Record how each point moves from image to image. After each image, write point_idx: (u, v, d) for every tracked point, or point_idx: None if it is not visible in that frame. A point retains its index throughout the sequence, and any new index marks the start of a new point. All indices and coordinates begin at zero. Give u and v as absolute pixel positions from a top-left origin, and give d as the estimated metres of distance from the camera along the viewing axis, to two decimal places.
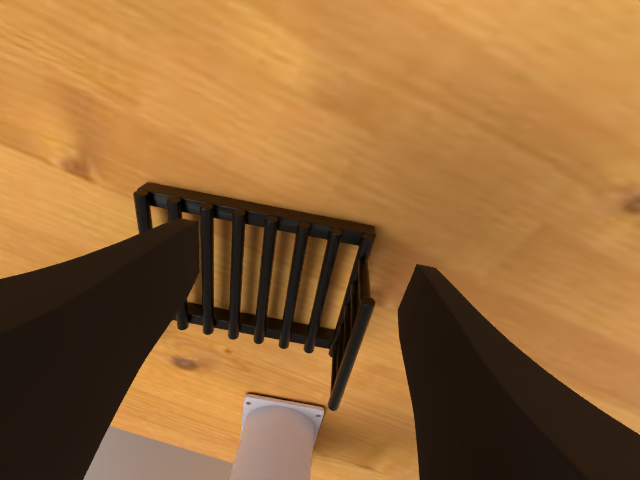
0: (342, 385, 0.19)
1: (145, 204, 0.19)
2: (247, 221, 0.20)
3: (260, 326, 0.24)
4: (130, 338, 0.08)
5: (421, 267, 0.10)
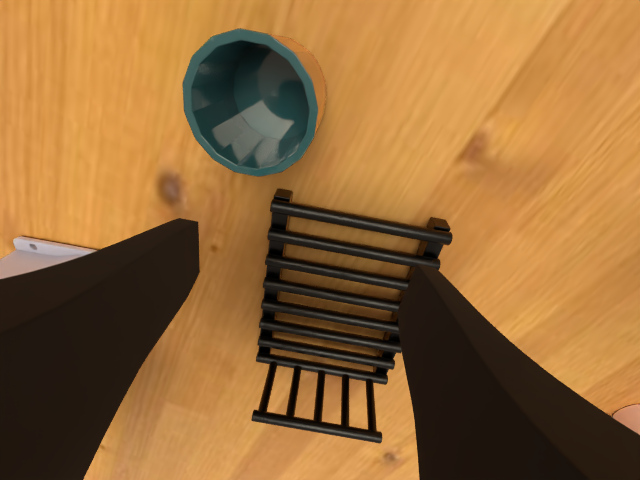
0: (290, 427, 0.22)
1: (438, 242, 0.19)
2: None
3: (288, 312, 0.23)
4: (130, 338, 0.08)
5: (421, 267, 0.10)
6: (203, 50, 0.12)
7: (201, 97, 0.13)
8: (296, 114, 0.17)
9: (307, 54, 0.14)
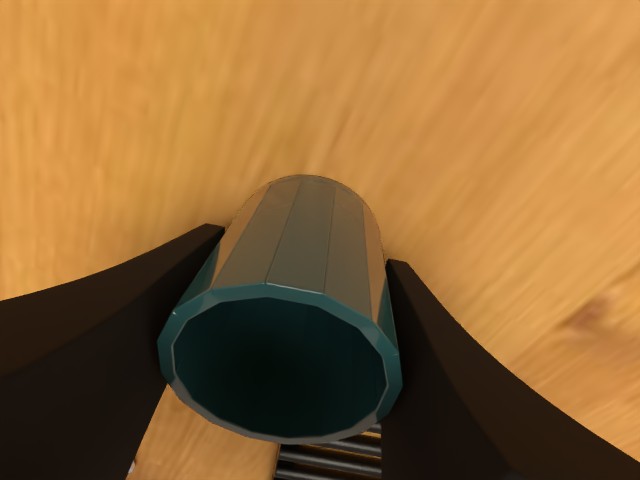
0: None
1: None
2: None
3: None
4: None
5: (392, 261, 0.10)
6: (194, 306, 0.06)
7: (191, 330, 0.08)
8: None
9: (366, 232, 0.09)
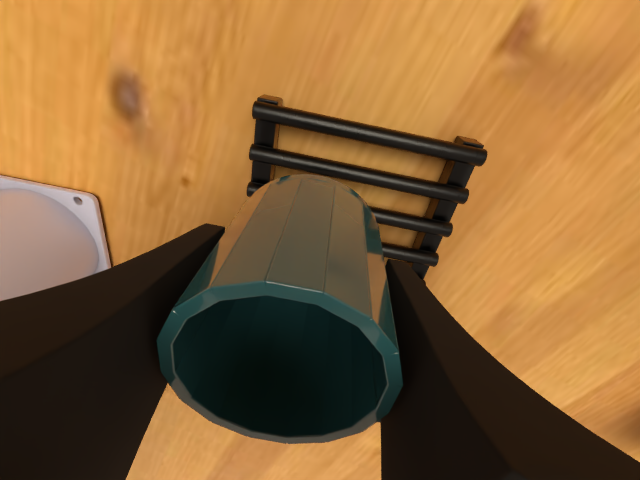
0: None
1: (468, 162, 0.15)
2: None
3: None
4: None
5: (391, 261, 0.10)
6: (193, 305, 0.06)
7: (191, 329, 0.08)
8: None
9: (366, 231, 0.09)
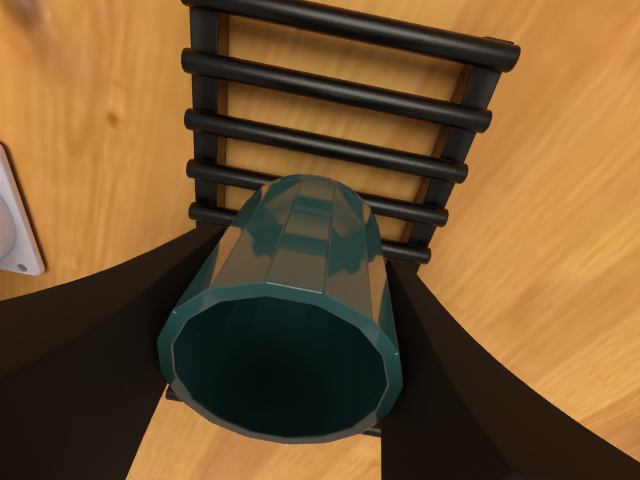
0: None
1: (492, 66, 0.10)
2: None
3: None
4: None
5: (391, 261, 0.10)
6: (194, 306, 0.06)
7: (191, 330, 0.08)
8: None
9: (366, 232, 0.09)
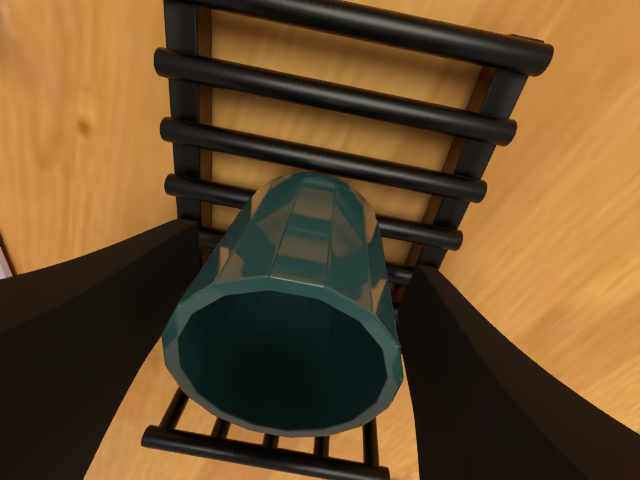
0: (216, 459, 0.12)
1: (519, 69, 0.09)
2: None
3: None
4: (130, 338, 0.08)
5: (421, 267, 0.10)
6: (199, 300, 0.06)
7: (195, 324, 0.08)
8: None
9: (367, 229, 0.09)
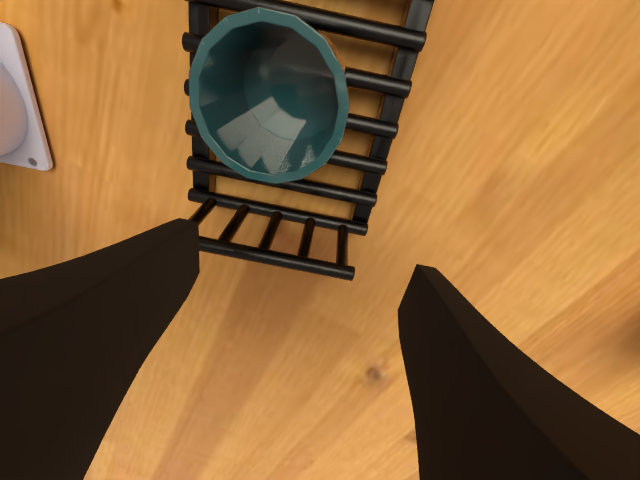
0: (220, 252, 0.15)
1: None
2: (390, 95, 0.16)
3: None
4: (130, 338, 0.08)
5: (421, 267, 0.10)
6: (215, 33, 0.10)
7: (209, 90, 0.11)
8: (313, 112, 0.16)
9: (332, 43, 0.12)
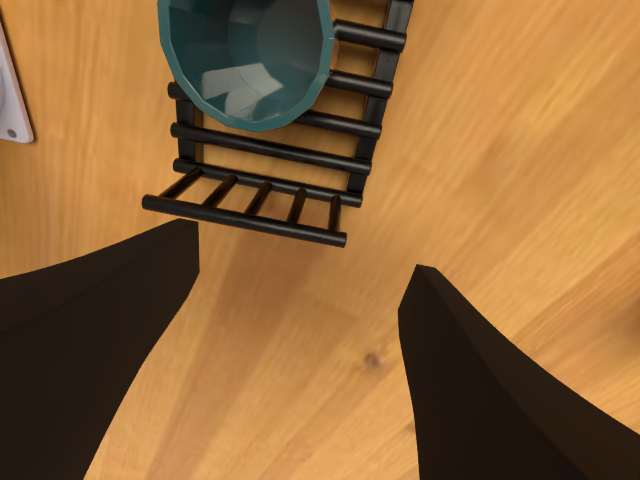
0: (203, 217, 0.14)
1: None
2: (383, 51, 0.15)
3: None
4: (130, 338, 0.08)
5: (421, 267, 0.10)
6: None
7: (183, 27, 0.10)
8: (302, 68, 0.15)
9: None
